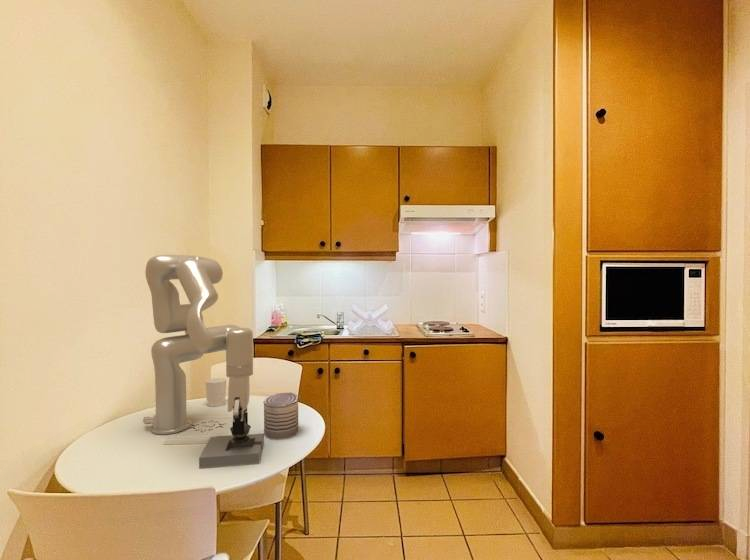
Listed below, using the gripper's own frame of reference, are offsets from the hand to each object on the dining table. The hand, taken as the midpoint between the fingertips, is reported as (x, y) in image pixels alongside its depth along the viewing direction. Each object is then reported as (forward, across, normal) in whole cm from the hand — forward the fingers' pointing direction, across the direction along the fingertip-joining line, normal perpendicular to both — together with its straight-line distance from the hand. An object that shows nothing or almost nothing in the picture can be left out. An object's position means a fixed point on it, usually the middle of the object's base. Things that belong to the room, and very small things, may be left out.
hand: (240, 429), depth 120 cm
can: (+8, -14, +11) cm, 19 cm away
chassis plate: (+7, 0, -2) cm, 8 cm away
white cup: (+8, -48, -17) cm, 51 cm away
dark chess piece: (+3, 0, 0) cm, 3 cm away
